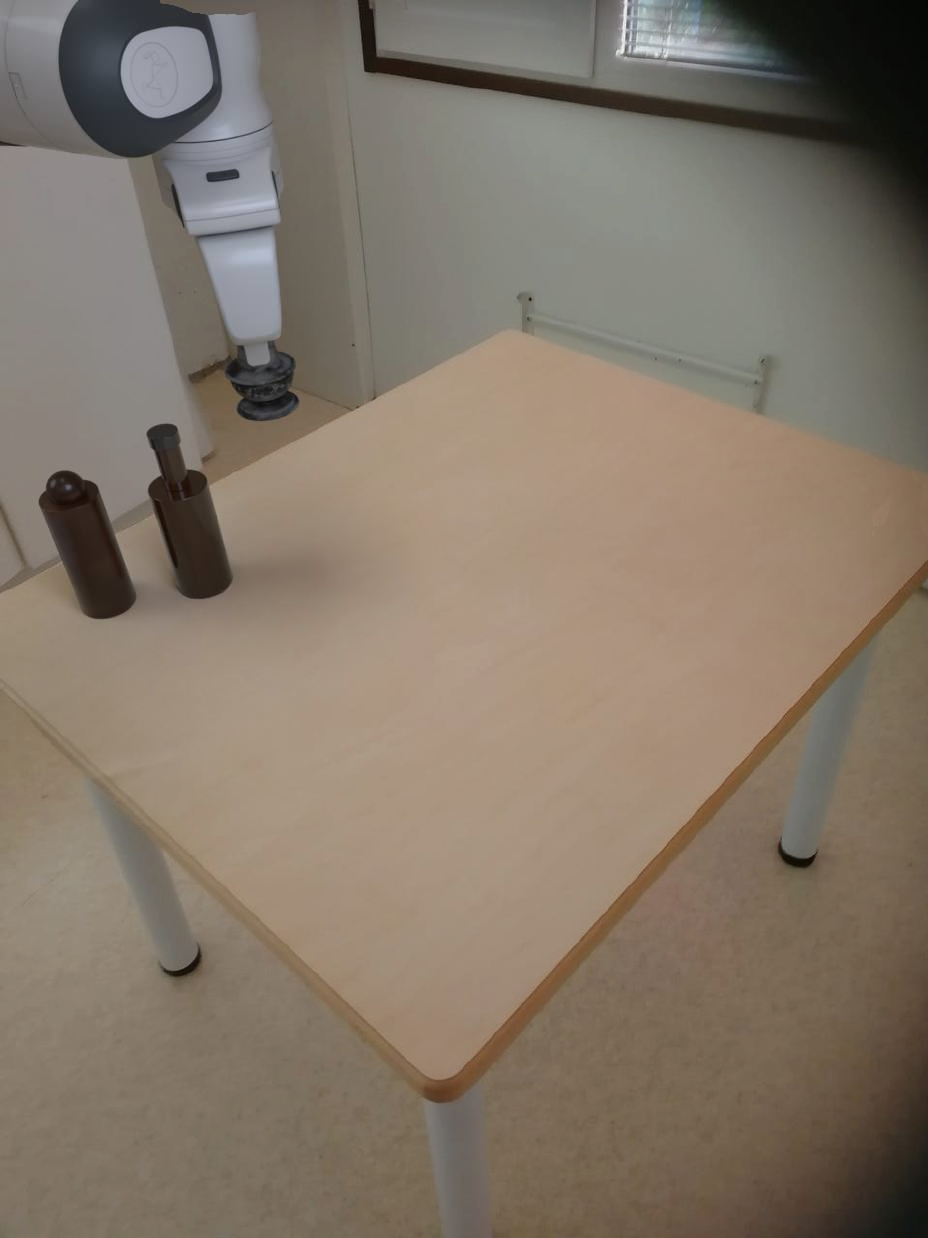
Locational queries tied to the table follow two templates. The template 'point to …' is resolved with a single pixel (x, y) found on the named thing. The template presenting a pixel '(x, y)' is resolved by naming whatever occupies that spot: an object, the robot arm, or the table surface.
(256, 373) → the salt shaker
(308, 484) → the table surface
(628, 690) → the table surface
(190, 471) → the vinegar bottle
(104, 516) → the pepper mill
